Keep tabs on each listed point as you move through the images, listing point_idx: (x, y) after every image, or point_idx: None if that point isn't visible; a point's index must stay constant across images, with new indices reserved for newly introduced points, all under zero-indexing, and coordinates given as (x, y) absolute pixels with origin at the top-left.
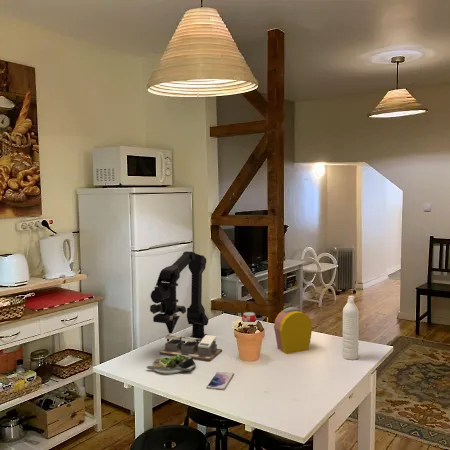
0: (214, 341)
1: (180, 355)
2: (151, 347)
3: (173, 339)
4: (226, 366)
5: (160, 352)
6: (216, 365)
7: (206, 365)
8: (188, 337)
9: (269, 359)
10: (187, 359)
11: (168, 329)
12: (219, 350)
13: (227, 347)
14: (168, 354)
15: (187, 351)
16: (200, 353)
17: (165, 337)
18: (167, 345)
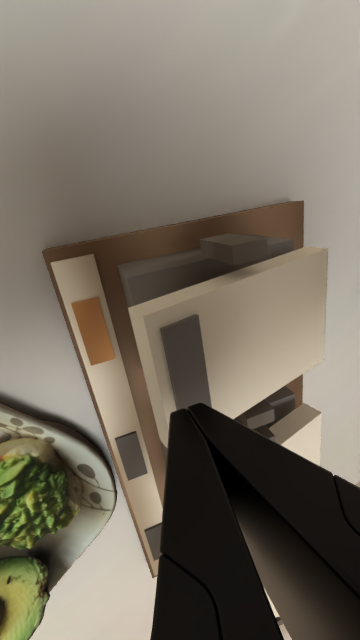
0: None
1: (45, 512)
2: (148, 10)
3: None
4: (145, 631)
5: (46, 264)
6: (129, 608)
7: (98, 590)
8: (302, 428)
9: (283, 632)
10: None
11: (167, 487)
12: None
13: (346, 472)
14: (74, 341)
15: (164, 455)
16: None
17: (135, 315)
18: (130, 304)
